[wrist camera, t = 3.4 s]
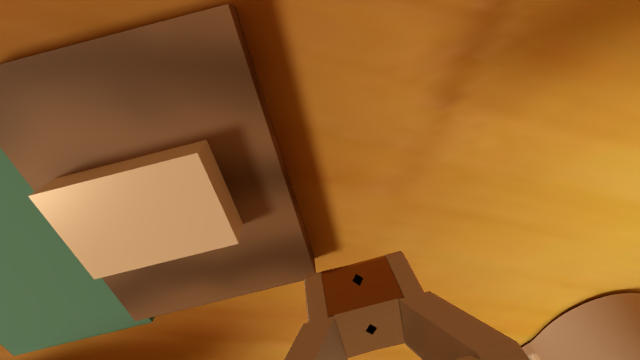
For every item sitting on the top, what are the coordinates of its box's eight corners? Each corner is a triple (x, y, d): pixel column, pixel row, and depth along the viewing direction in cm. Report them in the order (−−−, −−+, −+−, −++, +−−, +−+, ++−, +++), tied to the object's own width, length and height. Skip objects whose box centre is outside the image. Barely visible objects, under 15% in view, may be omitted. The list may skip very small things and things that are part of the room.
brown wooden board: (314, 258, 24) (316, 277, 23) (146, 300, 25) (135, 321, 23) (234, 5, 16) (227, 3, 14) (-17, 72, 16) (-54, 78, 15)
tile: (243, 224, 20) (238, 243, 18) (111, 257, 20) (94, 279, 18) (206, 139, 17) (197, 153, 15) (54, 178, 17) (27, 196, 16)
